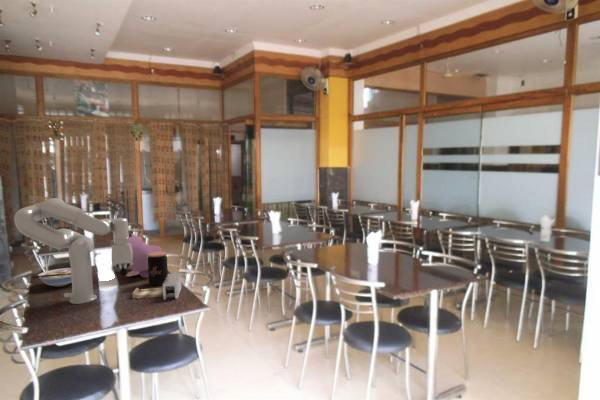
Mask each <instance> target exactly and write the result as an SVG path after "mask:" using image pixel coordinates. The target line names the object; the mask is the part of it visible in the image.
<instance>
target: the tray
mask: <svg viewBox="0 0 600 400" xmlns="http://www.w3.org/2000/svg"><path fill="white" fill-rule="evenodd" d="M131 294H132V299H133V300H134V299H135V298H137V299H151V298H163V287H158V288H144V289H143V288H141V289H139V287H136V288H135V289H134V290H133V292H132V293H131Z"/></svg>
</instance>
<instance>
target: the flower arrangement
mask: <svg viewBox="0 0 600 400" xmlns="http://www.w3.org/2000/svg"><path fill="white" fill-rule="evenodd" d="M129 243H131V246H132V250H133V257H134V264H132V265H129V266H128V268H129V269H131V271H129V272H127V275H126V276H125V277H132V276H137V275H138V276H140V277H142V278H144V279H147V278H148V279H149V275H148V254H149V253H152V252H163V251H162V248H161V247H160V246H159V245H149V244H147V243H146V242H145V241H143V238H142V237H140V236H138V235H136V234H134V233H131V236H129Z"/></svg>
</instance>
